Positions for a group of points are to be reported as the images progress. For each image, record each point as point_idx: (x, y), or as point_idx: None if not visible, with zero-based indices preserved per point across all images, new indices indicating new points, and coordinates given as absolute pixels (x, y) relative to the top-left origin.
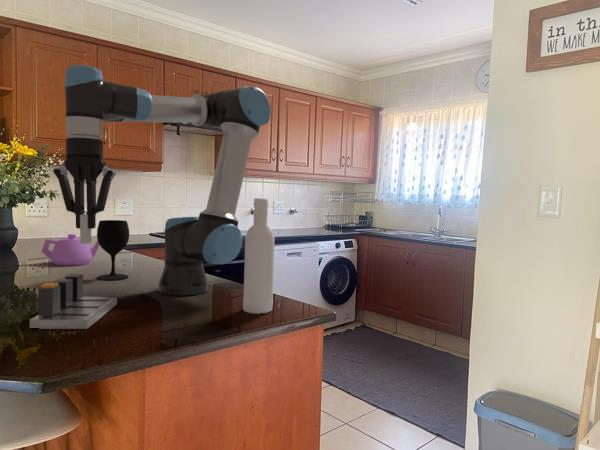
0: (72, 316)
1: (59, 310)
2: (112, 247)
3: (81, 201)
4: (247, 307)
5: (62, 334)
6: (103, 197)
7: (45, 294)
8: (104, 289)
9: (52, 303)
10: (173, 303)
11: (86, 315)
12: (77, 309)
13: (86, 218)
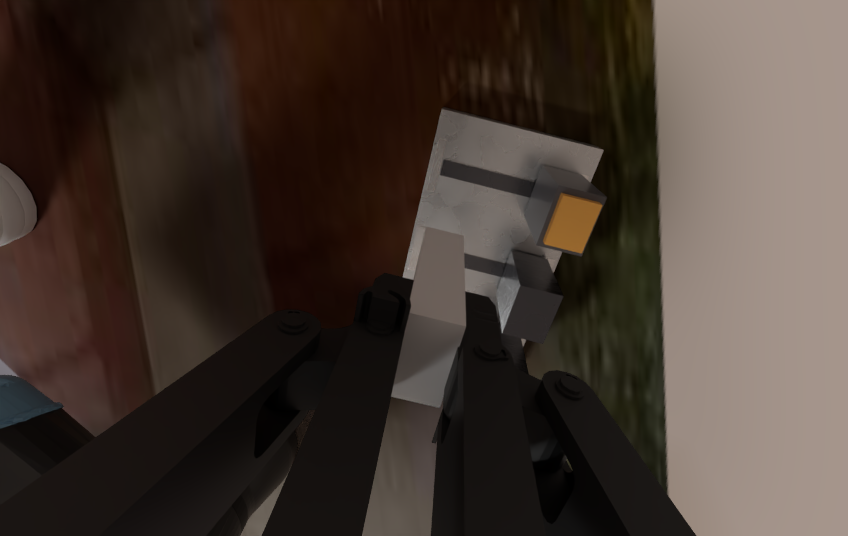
0: (486, 160)
1: (526, 210)
2: None
3: (453, 446)
4: (5, 180)
5: (505, 63)
6: (156, 397)
7: (577, 185)
8: None
9: (549, 172)
10: (242, 317)
11: (447, 160)
12: (478, 238)
13: (414, 296)
